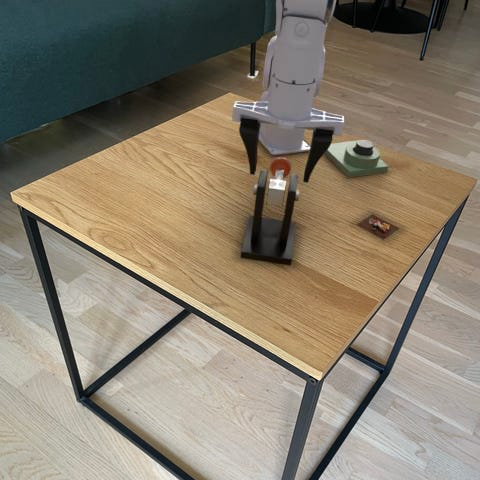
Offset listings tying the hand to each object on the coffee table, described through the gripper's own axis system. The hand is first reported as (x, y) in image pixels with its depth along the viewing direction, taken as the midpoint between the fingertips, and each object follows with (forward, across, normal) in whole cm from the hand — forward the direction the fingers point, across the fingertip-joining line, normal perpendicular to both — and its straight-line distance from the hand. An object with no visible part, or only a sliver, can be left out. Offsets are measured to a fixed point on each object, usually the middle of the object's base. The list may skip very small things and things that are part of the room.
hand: (279, 175), depth 71 cm
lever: (0, 0, -3) cm, 3 cm away
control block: (+7, +13, +21) cm, 25 cm away
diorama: (+7, +16, +1) cm, 18 cm away
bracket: (+7, 0, -7) cm, 10 cm away
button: (+4, +14, +19) cm, 24 cm away
